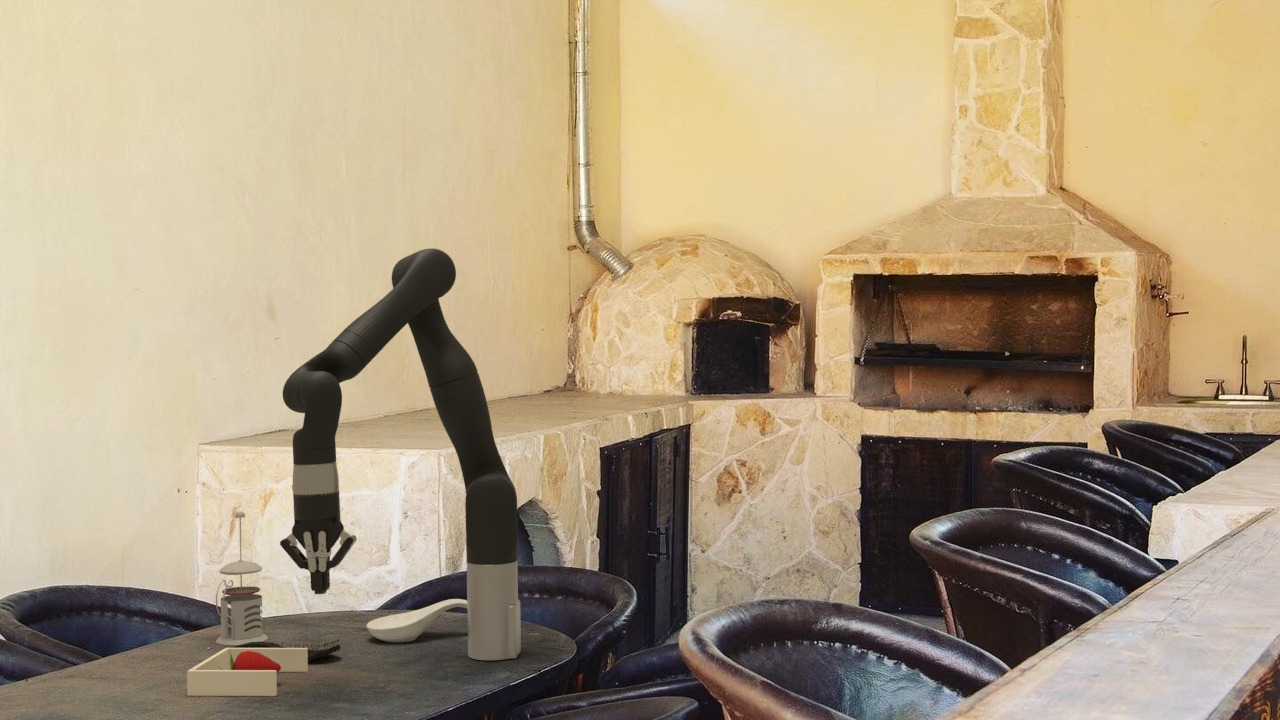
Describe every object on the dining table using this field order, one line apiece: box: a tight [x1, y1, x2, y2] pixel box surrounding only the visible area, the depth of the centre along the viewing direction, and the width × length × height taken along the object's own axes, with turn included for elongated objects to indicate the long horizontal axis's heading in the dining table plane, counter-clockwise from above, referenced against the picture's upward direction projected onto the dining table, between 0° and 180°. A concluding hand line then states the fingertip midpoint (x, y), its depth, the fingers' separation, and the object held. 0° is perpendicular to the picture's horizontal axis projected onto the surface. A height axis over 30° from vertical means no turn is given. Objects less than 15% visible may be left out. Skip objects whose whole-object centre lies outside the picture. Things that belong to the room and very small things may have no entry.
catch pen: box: [186, 647, 309, 697], centre depth 220 cm, size 15×17×4 cm
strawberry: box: [218, 651, 281, 673], centre depth 218 cm, size 6×8×10 cm
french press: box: [215, 511, 269, 646], centre depth 253 cm, size 10×12×25 cm
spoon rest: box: [365, 598, 467, 643], centre depth 254 cm, size 24×12×7 cm, turn 103°
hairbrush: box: [229, 639, 341, 662], centre depth 240 cm, size 8×4×25 cm
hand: (320, 593), depth 218 cm, fingers closed
